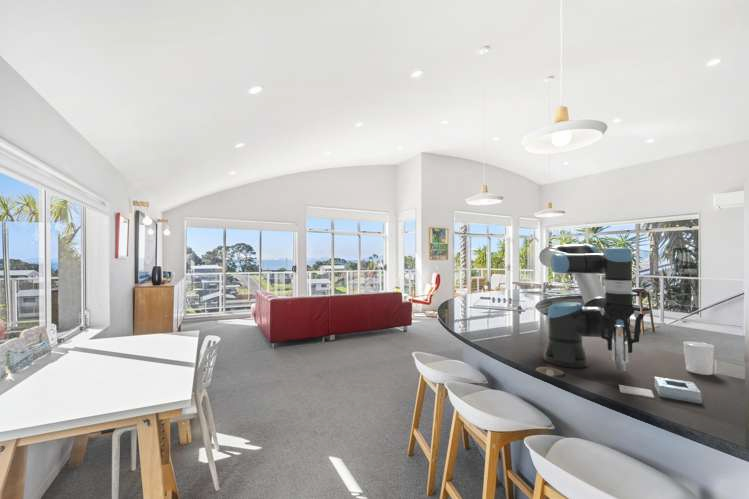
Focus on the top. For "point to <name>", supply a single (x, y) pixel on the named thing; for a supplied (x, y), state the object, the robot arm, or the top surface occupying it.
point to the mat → (636, 391)
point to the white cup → (699, 357)
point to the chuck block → (677, 390)
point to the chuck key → (619, 347)
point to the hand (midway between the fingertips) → (619, 360)
